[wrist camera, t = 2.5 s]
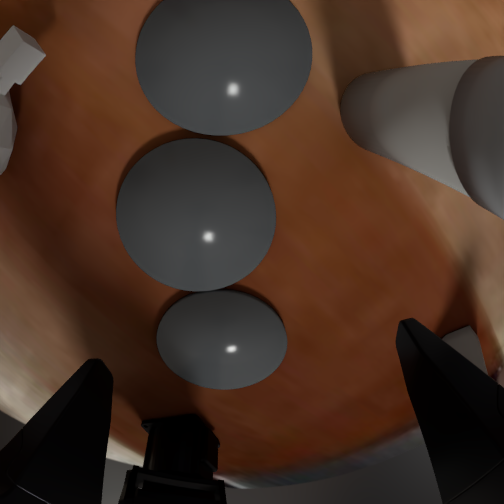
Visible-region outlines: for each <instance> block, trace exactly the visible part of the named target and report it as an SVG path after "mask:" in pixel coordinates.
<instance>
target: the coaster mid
mask: <svg viewBox="0 0 504 504" xmlns="http://www.w3.org/2000/svg"><path fill="white" fill-rule="evenodd" d="M116 219H117V226H118V231H119V234H120V238H121V240H122V243H123V245H124V247H125V249H126V251H127V252H128V254H129V256H130V257H131V258H132V259H133V261H134V262H135V263H136V264H137V265H138V266H139V267H140V268H141V269H142V270H143V271H144V272H145V273H146V274H148V275H149V276H150V277H152V278H154V279H155V280H157V281H159V282H161V283H163V284H165V285H167V286H170V287H173V288H176V289H181V290H186V291H211V290H216V289H220V288H224V287H226V286H229V285H232V284H234V283H235V282H237V281H239V280H241V279H242V278H244V277H245V276H247V275H248V274H249V273H250V272H252V271H253V270H254V269H255V268H256V267H257V266H258V264H259V263H260V262H261V261H262V259H263V258H264V256H265V255H266V253H267V251H268V249H269V247H270V245H271V242H272V239H273V236H274V231H275V226H276V211H275V203H274V199H273V195H272V192H271V190H270V187H269V185H268V183H267V181H266V179H265V177H264V176H263V174H262V173H261V171H260V170H259V169H258V167H257V166H256V165H255V164H254V163H253V162H252V161H251V160H250V159H249V158H248V157H247V156H245V155H244V154H243V153H241V152H240V151H238V150H236V149H235V148H233V147H231V146H229V145H227V144H224V143H221V142H219V141H214V140H210V139H203V138H185V139H180V140H175V141H172V142H169V143H166V144H163V145H161V146H159V147H157V148H155V149H153V150H152V151H150V152H149V153H147V154H146V155H144V156H143V157H142V158H141V159H140V160H139V161H138V162H137V163H136V164H135V165H134V166H133V167H132V169H131V170H130V171H129V173H128V174H127V176H126V178H125V179H124V182H123V184H122V186H121V189H120V192H119V195H118V199H117V207H116Z"/></svg>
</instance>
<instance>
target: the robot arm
mask: <svg viewBox="0 0 504 504" xmlns="http://www.w3.org/2000/svg"><path fill="white" fill-rule="evenodd" d="M396 348H397V352H398V355H399V359H400V363H401V367H402V371H403V375H404V379H405V383H406V387H407V391H408V394H409V397H410V400H411V403H412V405H413V408H414V411H415V414H416V417H417V420H418V423H419V426H420V429H421V432H422V435H423V438H424V441H425V444H426V447H427V450H428V454H429V457H430V460H431V463H432V467H433V470H434V473H435V477H436V481H437V484H438V488H439V491H440V495H441V499H442V503H443V504H504V388H503V387H502V386H501V385H500V384H498V383H497V382H496V381H495V380H493V379H492V378H491V377H490V376H488V375H487V374H486V373H485V372H483V371H482V370H481V369H480V368H478V367H477V366H476V365H475V364H473V363H472V362H471V361H469V360H468V359H467V358H466V357H464V356H463V355H462V354H460V353H459V352H458V351H457V350H455V349H454V348H453V347H451V346H450V345H449V344H447V343H446V342H445V341H444V340H442V339H441V338H440V337H438V336H437V335H436V334H434V333H433V332H432V331H430V330H429V329H428V328H426V327H425V326H424V325H422V324H421V323H420V322H418V321H417V320H416V319H414V318H409V319H404V320H401V321H400V322H399V325H398V331H397V336H396ZM112 392H113V376H112V374H111V372H110V371H109V369H108V368H107V367H106V365H105V364H104V362H103V361H102V360H101V359H98V358H96V359H88V360H87V361H86V362H85V363H84V364H83V365H82V366H81V367H80V368H79V369H78V370H77V371H76V372H75V373H74V374H73V375H72V376H71V377H70V378H69V379H68V380H67V381H66V382H65V383H64V385H63V386H62V387H61V388H60V389H59V390H58V391H57V392H56V393H55V394H54V395H53V396H52V397H51V398H50V399H49V400H48V401H47V402H46V403H45V404H44V405H43V406H42V408H41V409H40V410H39V411H38V412H37V413H36V414H35V415H34V416H33V417H32V418H31V419H30V420H29V421H28V422H27V424H26V425H25V426H24V427H23V429H21V430H20V431H19V432H18V433H17V434H16V436H14V438H13V439H12V440H11V441H10V442H9V443H8V444H7V445H6V446H5V447H4V448H3V449H2V450H1V451H0V504H101V500H102V489H103V478H104V469H105V460H106V452H107V444H108V437H109V430H110V423H111V409H112ZM141 426H142V427H143V428H144V429H145V430H146V432H147V433H148V434H149V436H148V441H147V447H146V452H145V458H144V463H143V468H141V467H139V466H136V465H134V466H133V469H132V470H127V472H126V478H125V482H124V486H123V489H122V493H121V496H120V499H119V503H118V504H227V502H226V494H225V485H224V480H213V472H216V471H217V470H218V448H219V447H220V442H219V441H218V439H217V438H216V437H215V435H214V434H213V433H212V432H211V431H210V429H208V428H207V427H206V426H205V424H204V423H203V422H202V421H201V419H200V418H199V417H198V416H197V415H194V414H191V415H184V416H178V417H171V418H163V419H155V420H147V421H142V424H141ZM138 487H139V488H138ZM140 488H142V489H140Z"/></svg>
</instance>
